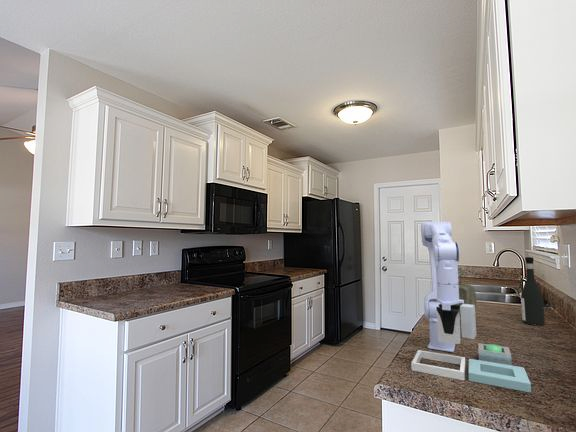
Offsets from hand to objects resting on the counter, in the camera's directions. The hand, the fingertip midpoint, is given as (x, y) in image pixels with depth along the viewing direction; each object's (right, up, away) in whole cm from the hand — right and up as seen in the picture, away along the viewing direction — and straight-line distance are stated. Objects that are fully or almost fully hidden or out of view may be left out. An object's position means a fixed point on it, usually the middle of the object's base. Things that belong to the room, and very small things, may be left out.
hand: (449, 331), depth 90 cm
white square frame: (-3, -11, +1) cm, 11 cm away
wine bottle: (+65, -16, +52) cm, 85 cm away
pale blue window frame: (+9, -10, -7) cm, 15 cm away
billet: (0, -3, 0) cm, 3 cm away
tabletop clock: (+30, -16, +52) cm, 62 cm away
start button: (+16, -10, +5) cm, 19 cm away
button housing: (+16, -11, +5) cm, 20 cm away
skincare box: (+24, -14, +31) cm, 42 cm away
